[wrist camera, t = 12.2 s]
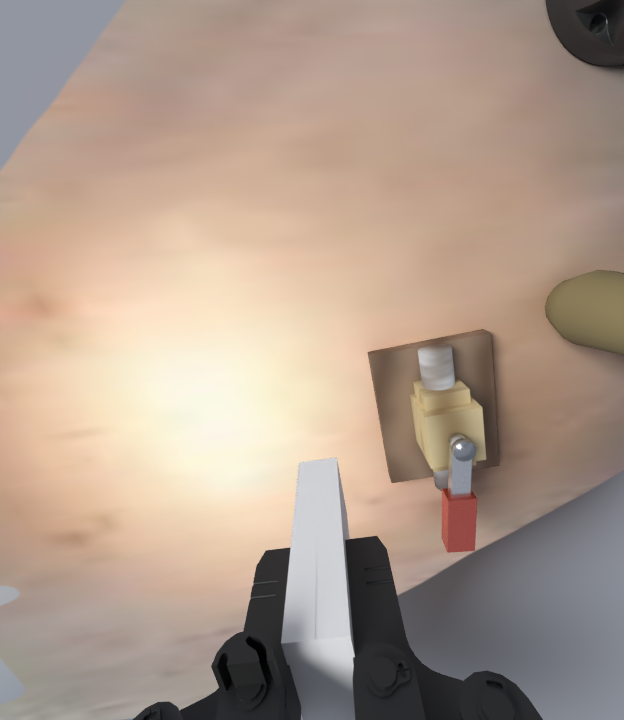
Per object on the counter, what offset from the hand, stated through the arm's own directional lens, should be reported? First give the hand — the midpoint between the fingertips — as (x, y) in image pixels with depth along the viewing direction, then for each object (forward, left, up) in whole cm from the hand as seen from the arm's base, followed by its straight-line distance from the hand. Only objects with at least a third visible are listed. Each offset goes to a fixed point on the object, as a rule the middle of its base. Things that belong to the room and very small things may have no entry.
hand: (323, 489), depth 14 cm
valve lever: (-11, +19, -21) cm, 31 cm away
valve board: (-12, +13, -29) cm, 34 cm away
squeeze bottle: (-29, +3, -30) cm, 42 cm away
